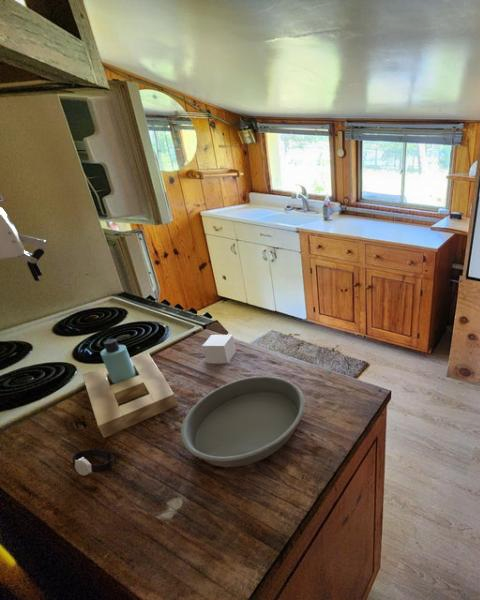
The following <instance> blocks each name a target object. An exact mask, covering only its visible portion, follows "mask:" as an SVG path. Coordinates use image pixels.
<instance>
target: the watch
mask: <svg viewBox="0 0 480 600" xmlns="http://www.w3.org/2000/svg"><path fill="white" fill-rule="evenodd" d="M91 457H92V458H93V457H98V458H99V457H100V458H104V459H106V460H109V461H108V462H106V463H102V464H97V465H96V464H95V465H94V464H92V463H90V461H89V460H88V459H86V458H91ZM71 458H72V464H73V466H74V468H75V470H76V472H77V473H78V474H79V475H81V476H86V475H88V474H92V473H95V474H97V473H104V472H106V471H109V470H110V469H112V467H113V466H114V464H115V461H114V455H113V453H112V452H111V451H109V450H107V449H99V448H92V449H91V448H90V449H85V450H81V451H78V452H76V453H75V454H73V455H72V457H71Z"/></svg>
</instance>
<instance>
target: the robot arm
mask: <svg viewBox="0 0 480 600" xmlns="http://www.w3.org/2000/svg"><path fill="white" fill-rule="evenodd" d="M0 202H4V199H3V195H2V194H0ZM24 243H28V244H32V245H36V248H35V250H34V251H33V252H32V253H30V252H28V251H26V250H25V248H26V247H25V245H24ZM47 245H48V242H47V240H46V239H43V238H39V237H34V236H30V235H24V234H20V233H19V232H18V231H17V228H16V227H15V224H14V223H13V222H12V219H11V218H10V216H9V215H8V213H6V211H5V209H4V208H3V207H2V206H0V260H3V259H12V258H20V259H23V260H24V261H26V262H27V263H26V265H27V267H28V269H29V271H30V274H31V276H32V278H33V280H34V281H35V282H40V280H41V279H40V277H42V276H43V272H42V271H41V269H40V266H39V264H38V262H39V260H40V259H41V258H42V256H43V255H44V254H45V251H46V248H47Z"/></svg>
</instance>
